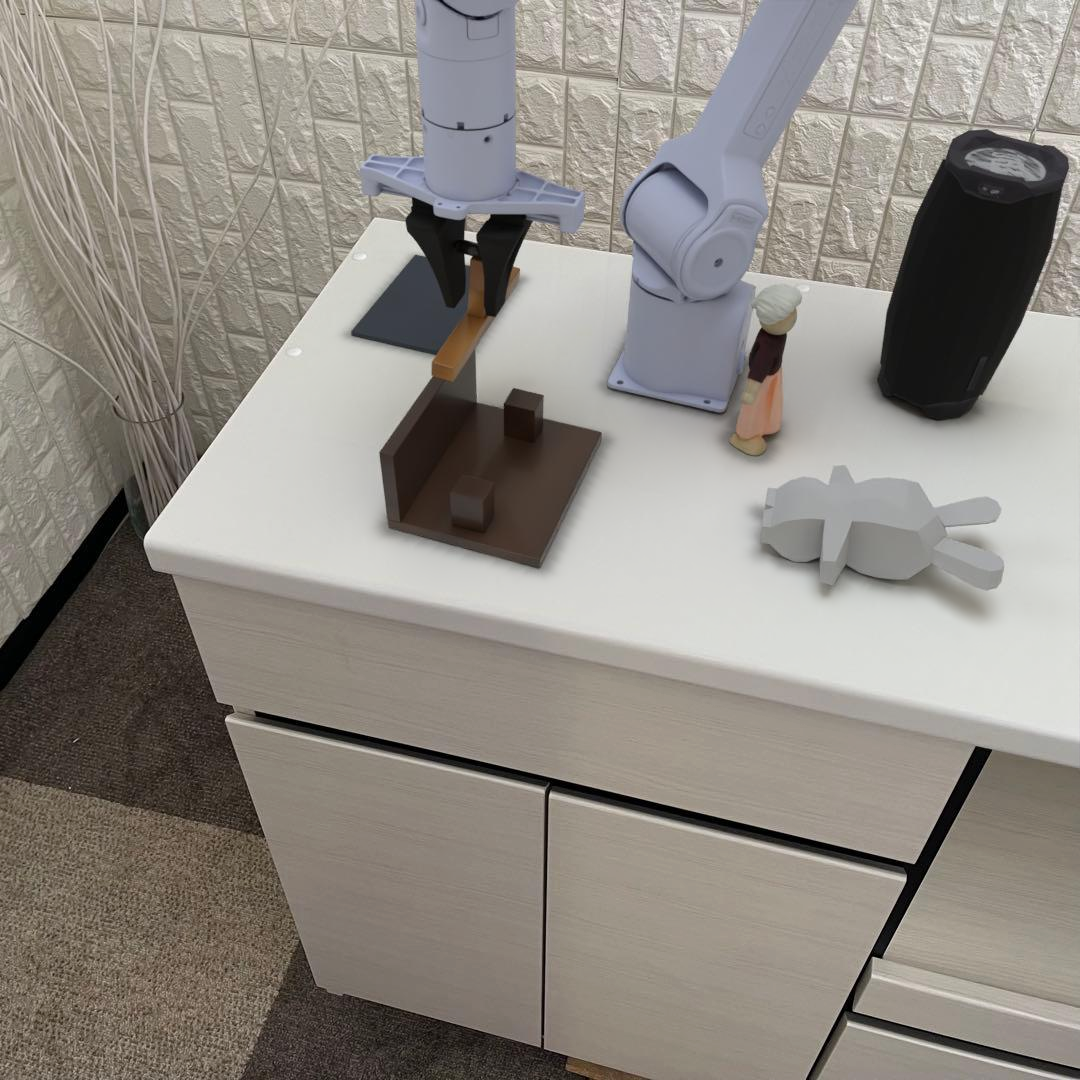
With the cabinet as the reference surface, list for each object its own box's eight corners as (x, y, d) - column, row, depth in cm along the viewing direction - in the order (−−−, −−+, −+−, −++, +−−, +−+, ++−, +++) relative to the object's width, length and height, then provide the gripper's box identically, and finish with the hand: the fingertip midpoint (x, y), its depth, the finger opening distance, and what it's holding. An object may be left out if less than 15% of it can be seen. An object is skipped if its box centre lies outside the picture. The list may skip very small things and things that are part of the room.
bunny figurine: (773, 443, 73) (1006, 464, 69) (769, 498, 76) (991, 521, 73) (757, 537, 67) (1012, 566, 63) (753, 593, 70) (995, 623, 66)
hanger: (519, 281, 78) (526, 202, 74) (453, 382, 70) (456, 300, 65) (484, 272, 79) (489, 193, 74) (414, 371, 70) (415, 288, 65)
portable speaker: (859, 355, 87) (925, 122, 73) (974, 361, 87) (1062, 128, 73) (876, 420, 81) (952, 180, 67) (999, 427, 81) (1100, 187, 67)
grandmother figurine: (776, 468, 77) (811, 321, 68) (723, 460, 78) (751, 313, 69) (780, 403, 83) (813, 259, 74) (731, 397, 83) (758, 253, 74)
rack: (601, 439, 79) (607, 365, 74) (539, 568, 70) (541, 493, 65) (465, 407, 82) (462, 333, 77) (387, 527, 72) (378, 452, 67)
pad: (518, 279, 94) (518, 275, 94) (462, 360, 86) (462, 356, 86) (415, 258, 97) (415, 254, 96) (351, 335, 88) (350, 331, 88)
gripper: (328, 118, 62) (354, 314, 72) (563, 158, 59) (556, 358, 69) (379, 72, 67) (396, 262, 77) (599, 107, 64) (588, 301, 73)
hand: (474, 304), depth 73 cm, fingers closed on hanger, 2 cm apart
